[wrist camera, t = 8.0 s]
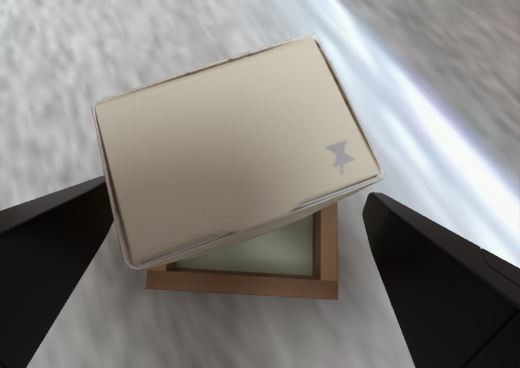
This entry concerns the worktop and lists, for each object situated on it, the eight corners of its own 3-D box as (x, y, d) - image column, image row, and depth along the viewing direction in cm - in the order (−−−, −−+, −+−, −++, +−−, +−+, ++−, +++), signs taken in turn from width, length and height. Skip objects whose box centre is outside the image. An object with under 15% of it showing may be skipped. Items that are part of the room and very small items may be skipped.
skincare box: (279, 164, 19) (328, 22, 7) (301, 220, 18) (405, 174, 6) (194, 193, 18) (78, 94, 6) (213, 253, 17) (121, 278, 5)
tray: (325, 291, 17) (338, 299, 15) (160, 281, 17) (145, 288, 14) (325, 138, 20) (336, 123, 17) (182, 128, 19) (171, 112, 17)
